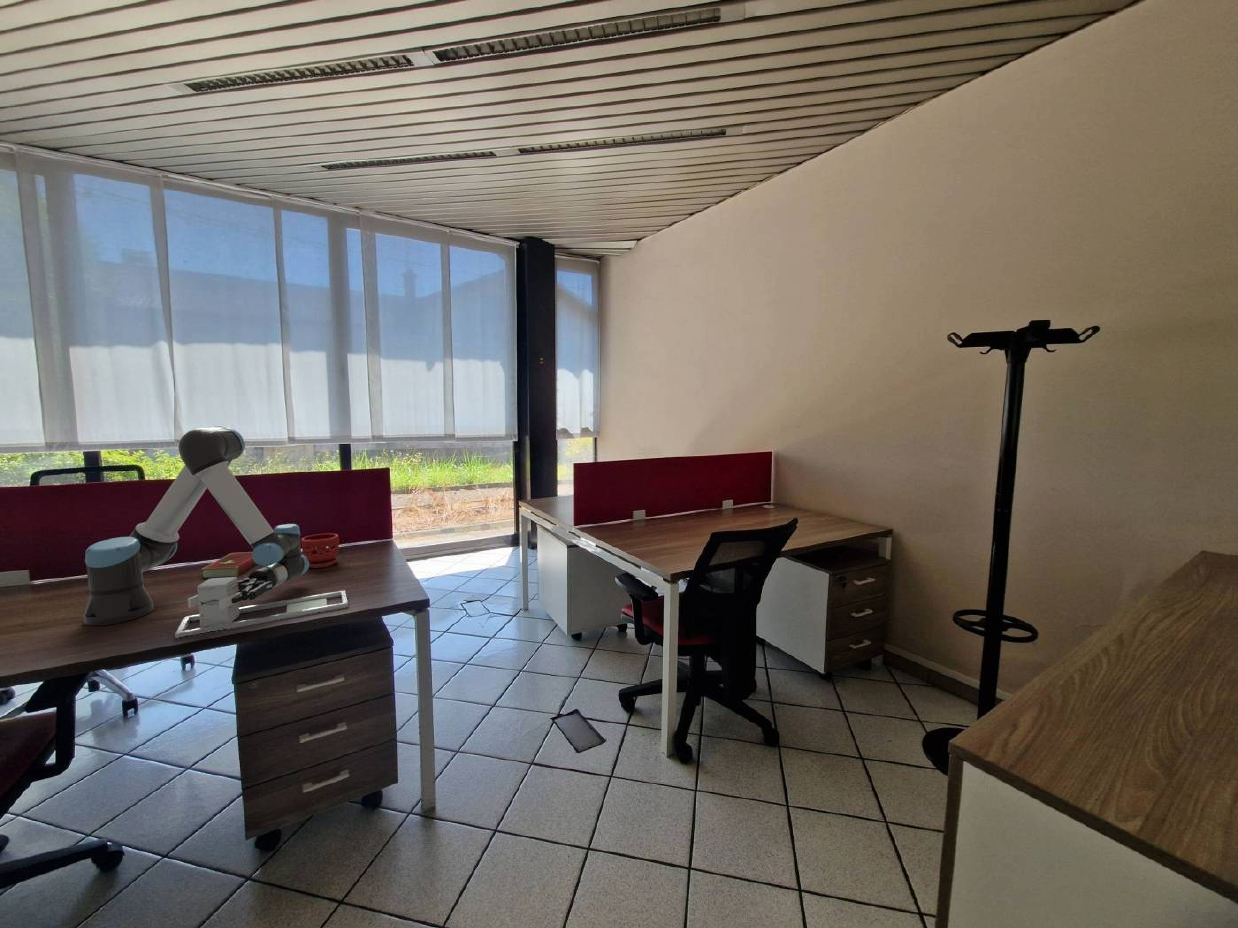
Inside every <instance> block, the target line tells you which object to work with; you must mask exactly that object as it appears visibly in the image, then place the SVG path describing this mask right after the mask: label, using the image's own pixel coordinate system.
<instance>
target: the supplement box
mask: <svg viewBox="0 0 1238 928" xmlns="http://www.w3.org/2000/svg"><path fill="white" fill-rule="evenodd" d="M237 581H238V576H227V577H210V578H208V579H206V580H205V581H204V582H202V583H200V584H199V585H197V595H198V604H199V605H198V614H199V617H200V620H199V628H203V627H209V626H214V625H220V624H226V623H231V622H235V620H236V619H238V618H239V616H240V613H239V608H240V605H239V604H240V602H238V603H236V604H233V605H231V606H229V607H227V608H225V609H222V610H219V600H221V599H224V598H226V597H228V596H231V595H233V594H235V593H238V590H239V589H238V584H237Z"/></svg>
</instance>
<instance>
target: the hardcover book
mask: <svg viewBox="0 0 1238 928" xmlns="http://www.w3.org/2000/svg"><path fill="white" fill-rule="evenodd" d="M252 553H253V551H248V552H245V551H244V552H231V553H228V554H227V555H225V556H223V557H222V558H221V557H220V558H219V559H218V560H216V561H213V562H212V563H209V564H207V565H206V566H204V567H203V568H200V570H201V571H202V574H203V579H204V578H206V579H207V578H208V579H209V578H226V577H239V576H240V575H242V574H243V573H245V572H246V571H247V570H249V569H251V568H253V567H254V566H256V565H257V564H256V563H255V562H254V560H253V558H252ZM252 566H253V567H252Z"/></svg>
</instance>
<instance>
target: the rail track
mask: <svg viewBox="0 0 1238 928" xmlns="http://www.w3.org/2000/svg"><path fill="white" fill-rule="evenodd" d="M338 597H341V600H342V601H341V603H340V602H339V603H334V604H327V606H322V607H316V608H310V609H305V610H299V611H293V612H288V613H286V612H283V613H277V614H272V615H266V616H262V617H261V616H260V617H255V618H249V619H245V620H237V621H232V622H231V623H226V624H220V625H214V626H206V627H197V628H193V629H192V628H191V629H187V628H188V626H189V624H190V621H192V622H197V620H198V621H200V617H199V613H198V614H192V615H188V616H184V618H183V619H182V621H181V622H180V625H179V626H178V628H177V630H176V632H175V633H174V637H175V638H177V639H180V638H179V637H183V636H185V635H192V634H198V633H204V632H210V631H216V632H218V631H217V630H221V631H224V630H223V629H227V630H231V628H232V629H237V627H238V628H242V627H247V626H253V625H259V624H263V623H271V622H275V620H276V621H281V620H286V619H292V618H297V617H303V616H308V614H309V615H313V613H314V614H319V613H318V612H320V613H324V612H330V611H336V610H340V609H341V610H342V609H347V608H348V605H349V603H348V598H347V594H346V590H345V589H343V590H339V591H333V592H331V591H330V592H326V593H321V594H315V595H309V596H308V595H307V596H302V597H296V598H291V599H284V600H279V601H270V602H265V603H260V604H253V605H247V606H243V607H239V614H242V613H243V614H245V613H250V612H254V611H261V610H267V609H274V608H278V607H285V606H286V607H287V605H288V604H294V603H299V602H305V601H311V600H317V599H323V598H326V600H327V599H331V598H338ZM346 607H347V608H346ZM280 619H281V620H280ZM186 627H187V628H186ZM185 629H186V630H185ZM210 633H211V632H210ZM183 638H184V637H183Z"/></svg>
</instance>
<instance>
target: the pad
mask: <svg viewBox="0 0 1238 928" xmlns="http://www.w3.org/2000/svg"><path fill="white" fill-rule="evenodd" d="M327 601H328V600H327V599H326V598H323V599H317V600H311V601H305V602H299V603H294V604H288V605H286V612H285V613H288V612H293V611H299V610H305V609H310V608H316V607H322V606H327V605H328V603H327Z"/></svg>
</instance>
